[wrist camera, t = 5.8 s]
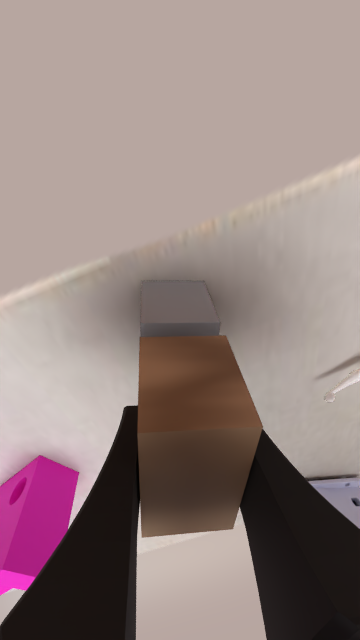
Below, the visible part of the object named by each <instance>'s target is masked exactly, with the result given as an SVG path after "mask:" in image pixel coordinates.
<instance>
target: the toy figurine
mask: <svg viewBox="0 0 360 640" xmlns="http://www.w3.org/2000/svg"><path fill="white" fill-rule="evenodd" d="M359 381H360V369H358V370H356V371H353V372H351V373H350V375H349V376H348V377H346V378H345V379H344V380H342V381H341V382H340V383H338V384H337V385H336V386H335V387H334V388H333V389H331V390H330V391H329V392H328V393H327V394H326V395H325V397H324V400H326V401H327V402H334V400H335V397H336V396H334V395H333V394H334V393H336V392H338V391H339V390H341V389H343V388H345V387H347V386H349V385H351V384H354V383H356V382H359Z"/></svg>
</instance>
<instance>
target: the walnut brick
mask: <svg viewBox="0 0 360 640" xmlns="http://www.w3.org/2000/svg"><path fill="white" fill-rule="evenodd" d="M262 428H263V425H262V423H261V420H260V418H259V415H258V413H257V411H256V408H255V406H254V403H253V401H252V398H251V396H250V393H249V391H248V389H247V386H246V384H245V381H244V379H243V376H242V374H241V371H240V369H239V366H238V364H237V362H236V359H235V357H234V354H233V352H232V349H231V347H230V344H229V342H228V340H227V337H226V336H173V337H140V351H139V391H138V432H137V434H138V458H139V482H140V506H141V531H142V537H153V536H164V535H175V534H185V533H196V532H207V531H218V530H228V529H233V527H234V523H235V520H236V517H237V513H238V510H239V506H240V503H241V500H242V496H243V493H244V489H245V486H246V482H247V479H248V476H249V472H250V469H251V465H252V462H253V459H254V455H255V452H256V448H257V445H258V442H259V438H260V435H261V431H262Z"/></svg>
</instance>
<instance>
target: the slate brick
mask: <svg viewBox="0 0 360 640" xmlns="http://www.w3.org/2000/svg"><path fill="white" fill-rule="evenodd" d="M219 329H220V320H219V317H218V315H217V312H216V310H215V307H214V305H213V303H212V300H211V298H210V295H209V293H208V290H207V288H206V285H205V283H204V281H142V287H141V337H173V336H219Z"/></svg>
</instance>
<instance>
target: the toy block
mask: <svg viewBox="0 0 360 640" xmlns="http://www.w3.org/2000/svg"><path fill="white" fill-rule="evenodd" d="M78 475H79V472H77V471H74V470H72V469H70V468H68V467H65V466H63V465H61V464H59V463H56V462H54V461H52V460H50V459H47V458H45V457H43V456H41V455H40V456H38V457H37V458H36V459H35V460H33V461H32V462H31V463H29V464H28V465H27V466H26V467H24V468H23V469H22V470H21V471H19V472H18V473H17V474H16V475H14V476H13V477H12V478H10V479H9V480H8V481H7V482H5V483H4V484H3V485H2V486H0V595H2V594H4V593H5V592H7V591H9V590H10V589H12V588H16V589H21V590H27V589H28V587H29V586H30V585H31V583H32V582H33V581H34V579H35V578H36V577H37V575H38V574H39V572H40V571H41V569H42V568H43V566H44V565H45V564H46V562H47V561H48V559H49V558H50V556H51V555H52V553H53V552H54V550H55V549H56V547H57V546H58V545H59V543H60V542H61V540H62V538H63V537H64V535H65V534H66V532H67V530H68V525H69V520H70V515H71V510H72V505H73V500H74V495H75V490H76V485H77V480H78Z"/></svg>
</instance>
